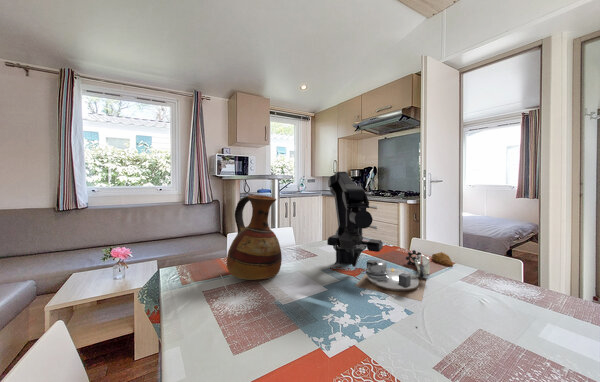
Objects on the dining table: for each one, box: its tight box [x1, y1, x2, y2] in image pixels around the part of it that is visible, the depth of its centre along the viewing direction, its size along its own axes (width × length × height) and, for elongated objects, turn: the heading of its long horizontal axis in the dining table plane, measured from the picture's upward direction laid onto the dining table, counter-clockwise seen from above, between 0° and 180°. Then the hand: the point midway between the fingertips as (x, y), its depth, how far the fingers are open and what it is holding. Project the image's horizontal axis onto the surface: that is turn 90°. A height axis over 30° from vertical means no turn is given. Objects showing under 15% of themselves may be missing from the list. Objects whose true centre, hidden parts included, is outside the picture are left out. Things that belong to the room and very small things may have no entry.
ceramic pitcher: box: [226, 193, 283, 280], centre depth 88 cm, size 20×20×30 cm
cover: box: [365, 259, 388, 279], centre depth 80 cm, size 7×7×4 cm
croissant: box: [431, 251, 454, 268], centre depth 98 cm, size 14×7×5 cm, turn 176°
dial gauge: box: [415, 254, 430, 281], centre depth 81 cm, size 4×3×8 cm
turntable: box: [368, 267, 419, 291], centre depth 79 cm, size 16×16×5 cm
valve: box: [404, 249, 431, 276], centre depth 90 cm, size 7×7×12 cm
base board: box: [354, 273, 427, 302], centre depth 79 cm, size 19×19×1 cm
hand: (354, 266), depth 85 cm, fingers closed
